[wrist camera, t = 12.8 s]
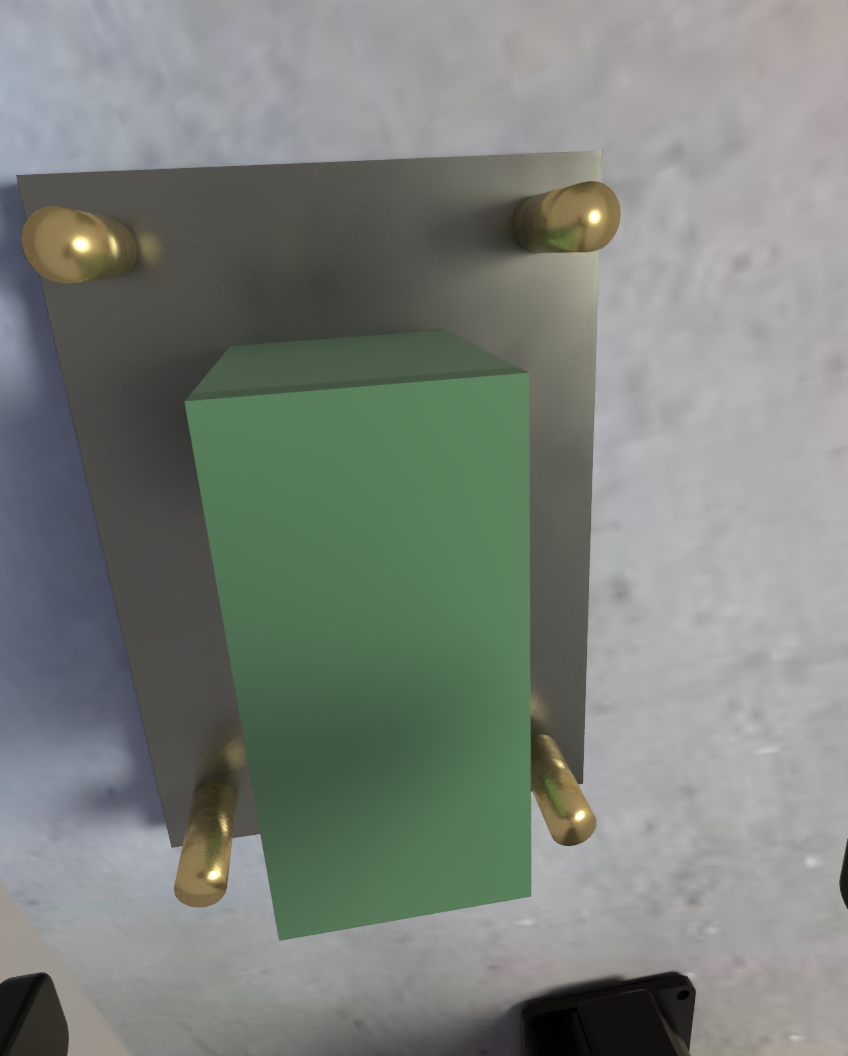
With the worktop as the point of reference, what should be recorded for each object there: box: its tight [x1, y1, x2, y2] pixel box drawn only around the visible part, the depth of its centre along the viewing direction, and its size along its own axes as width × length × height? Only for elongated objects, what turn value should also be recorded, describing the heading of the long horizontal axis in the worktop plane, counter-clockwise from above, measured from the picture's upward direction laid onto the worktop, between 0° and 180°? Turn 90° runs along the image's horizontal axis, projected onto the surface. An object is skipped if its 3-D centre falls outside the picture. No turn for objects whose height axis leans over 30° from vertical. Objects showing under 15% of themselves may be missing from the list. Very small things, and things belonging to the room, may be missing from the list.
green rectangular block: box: [184, 330, 531, 941], centre depth 15 cm, size 5×10×7 cm, turn 3°
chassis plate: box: [16, 151, 620, 907], centre depth 17 cm, size 17×12×4 cm
